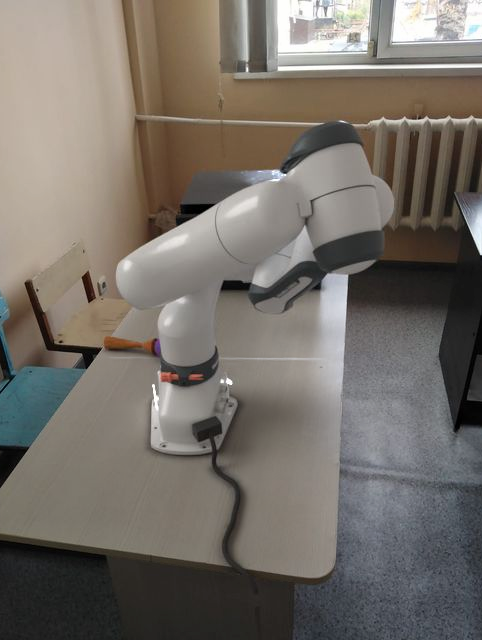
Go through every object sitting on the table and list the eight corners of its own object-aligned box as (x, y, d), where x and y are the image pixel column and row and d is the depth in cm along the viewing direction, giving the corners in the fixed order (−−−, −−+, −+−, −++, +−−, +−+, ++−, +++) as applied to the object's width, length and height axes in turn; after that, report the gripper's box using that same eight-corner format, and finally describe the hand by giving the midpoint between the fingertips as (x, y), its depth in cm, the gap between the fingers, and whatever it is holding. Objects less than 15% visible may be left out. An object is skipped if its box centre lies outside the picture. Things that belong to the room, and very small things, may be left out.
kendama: (112, 327, 140) (182, 332, 133) (115, 349, 142) (184, 355, 135) (99, 335, 134) (171, 341, 128) (102, 357, 137) (173, 364, 130)
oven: (320, 287, 161) (324, 201, 147) (188, 287, 165) (179, 204, 151) (315, 244, 188) (318, 168, 173) (201, 246, 192) (195, 172, 177)
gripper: (289, 248, 127) (288, 268, 141) (203, 248, 129) (211, 268, 143) (289, 273, 126) (288, 291, 140) (202, 274, 128) (210, 291, 142)
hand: (248, 279), depth 141 cm, fingers closed
